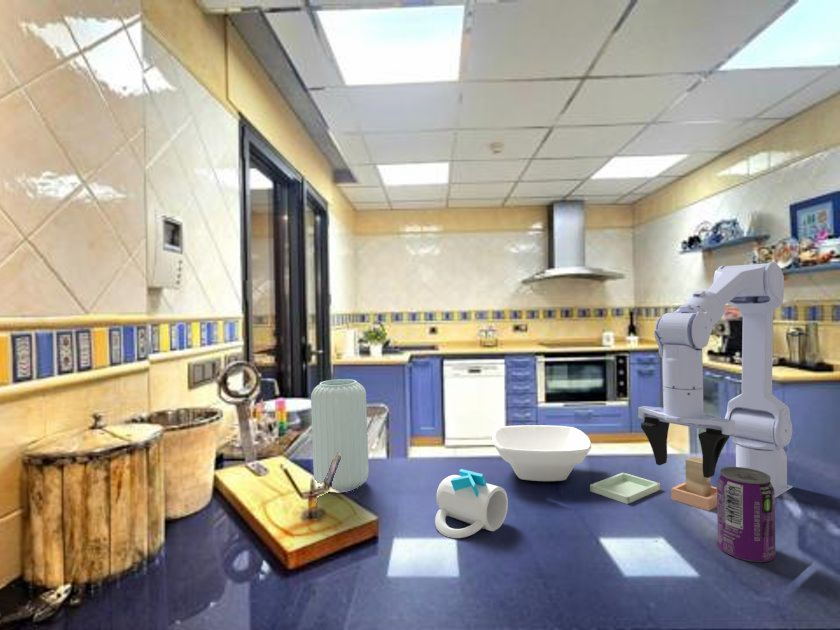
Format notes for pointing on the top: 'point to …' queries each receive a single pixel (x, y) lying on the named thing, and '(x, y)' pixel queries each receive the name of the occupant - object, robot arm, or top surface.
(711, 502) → the orange open box
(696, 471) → the beech pin
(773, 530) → the beverage can
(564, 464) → the bowl
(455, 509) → the mug
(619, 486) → the tray
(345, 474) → the vase
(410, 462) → the top surface
